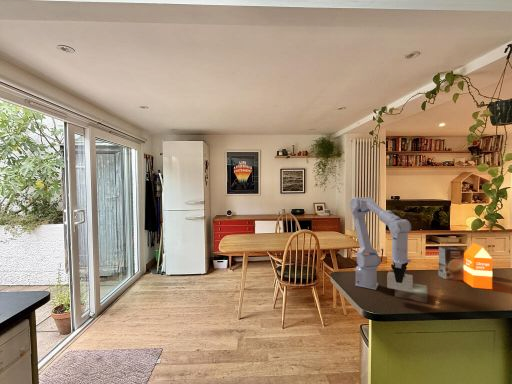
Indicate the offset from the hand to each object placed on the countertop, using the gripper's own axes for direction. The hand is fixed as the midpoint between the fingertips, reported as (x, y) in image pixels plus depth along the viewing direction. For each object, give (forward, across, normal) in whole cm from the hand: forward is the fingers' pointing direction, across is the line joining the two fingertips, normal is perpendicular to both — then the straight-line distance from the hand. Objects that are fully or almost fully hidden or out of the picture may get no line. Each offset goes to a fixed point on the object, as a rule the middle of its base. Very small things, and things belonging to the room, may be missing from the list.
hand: (399, 280), depth 106 cm
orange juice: (+10, +42, -31) cm, 53 cm away
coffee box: (+10, +47, -21) cm, 53 cm away
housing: (+3, 0, 0) cm, 3 cm away
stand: (+9, +10, -4) cm, 15 cm away
